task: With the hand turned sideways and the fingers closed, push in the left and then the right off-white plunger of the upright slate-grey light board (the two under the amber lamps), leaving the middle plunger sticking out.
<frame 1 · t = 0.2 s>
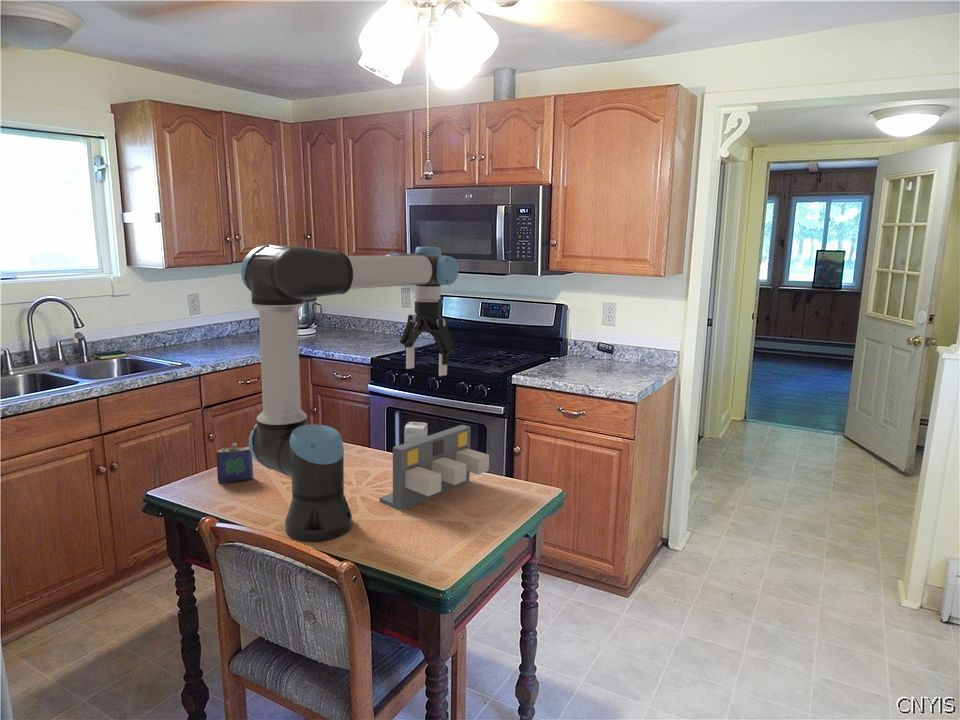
hand: (426, 371, 189), 28 cm above the table, tool pointing down, fingers open, 13 cm apart
button left: (419, 479, 158), point 8 cm above the table, slide at 0.0 cm
light board: (433, 493, 169), on the table
button mid: (445, 469, 165), point 8 cm above the table, slide at 0.0 cm
button right: (468, 460, 172), point 8 cm above the table, slide at 0.0 cm
flask: (235, 481, 175), on the table
syrup box: (415, 472, 184), on the table
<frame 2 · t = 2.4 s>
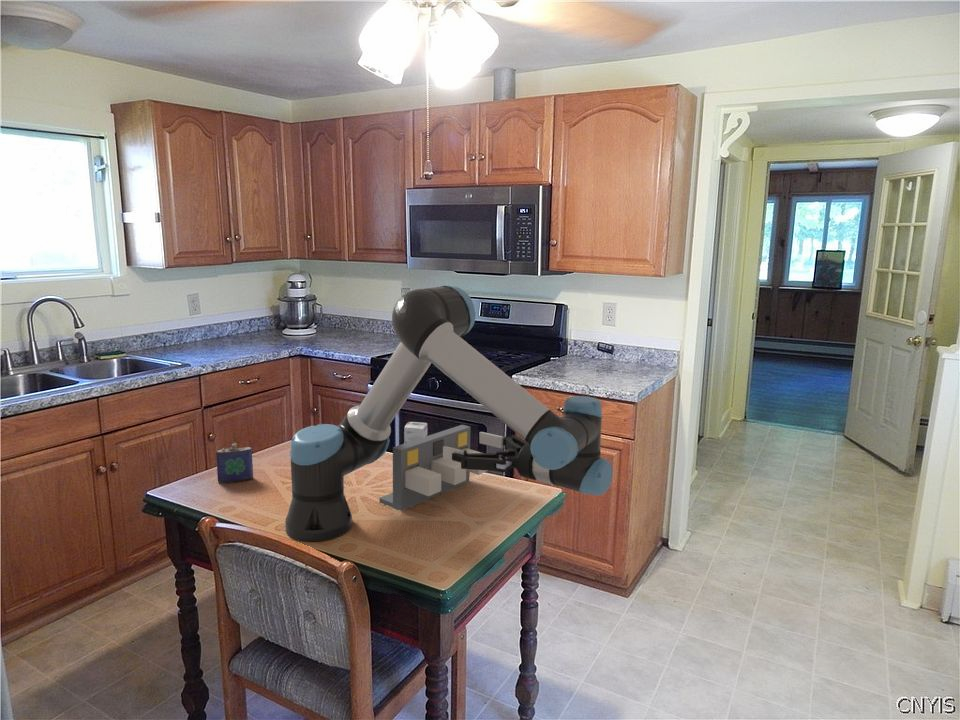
hand: (462, 444, 148), 20 cm above the table, tool horizontal, fingers open, 13 cm apart
nothing on the table moved.
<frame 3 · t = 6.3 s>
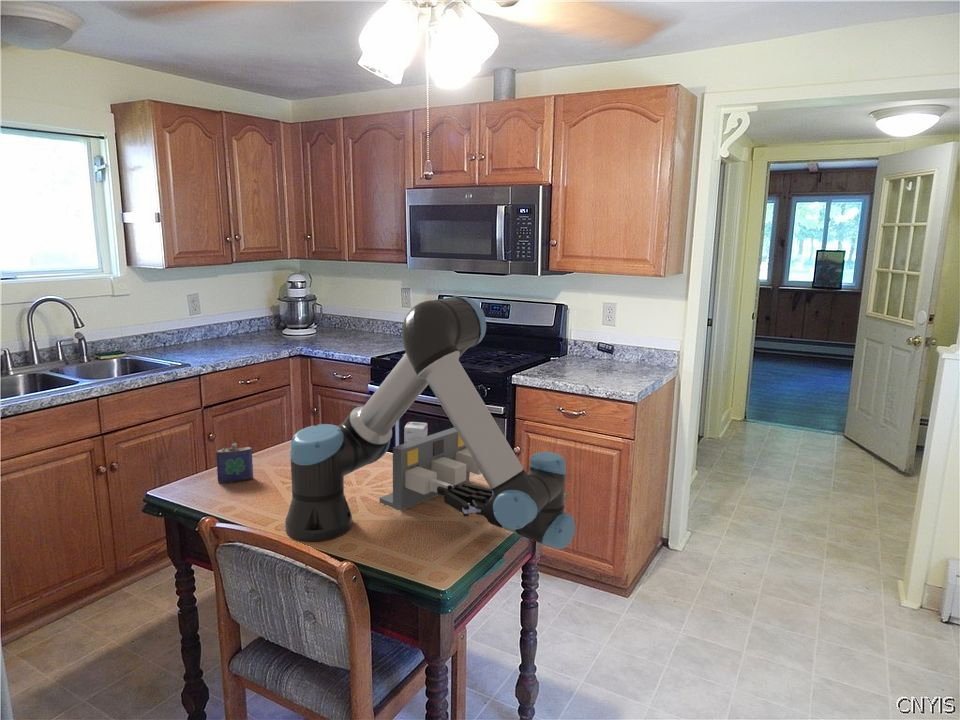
hand: (431, 484, 156), 8 cm above the table, tool horizontal, fingers closed
button left: (415, 478, 159), point 8 cm above the table, slide at 1.5 cm, touching gripper
everything else where it was.
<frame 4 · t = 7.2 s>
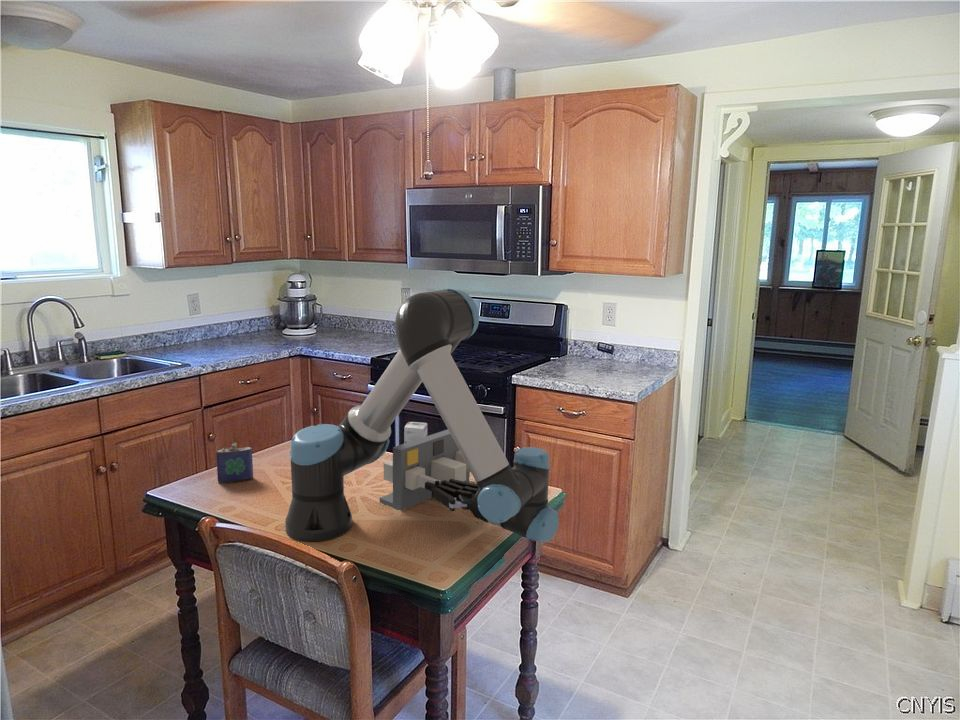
hand: (419, 479, 158), 8 cm above the table, tool horizontal, fingers closed
button left: (404, 474, 161), point 8 cm above the table, slide at 5.5 cm, touching gripper
everything else where it was.
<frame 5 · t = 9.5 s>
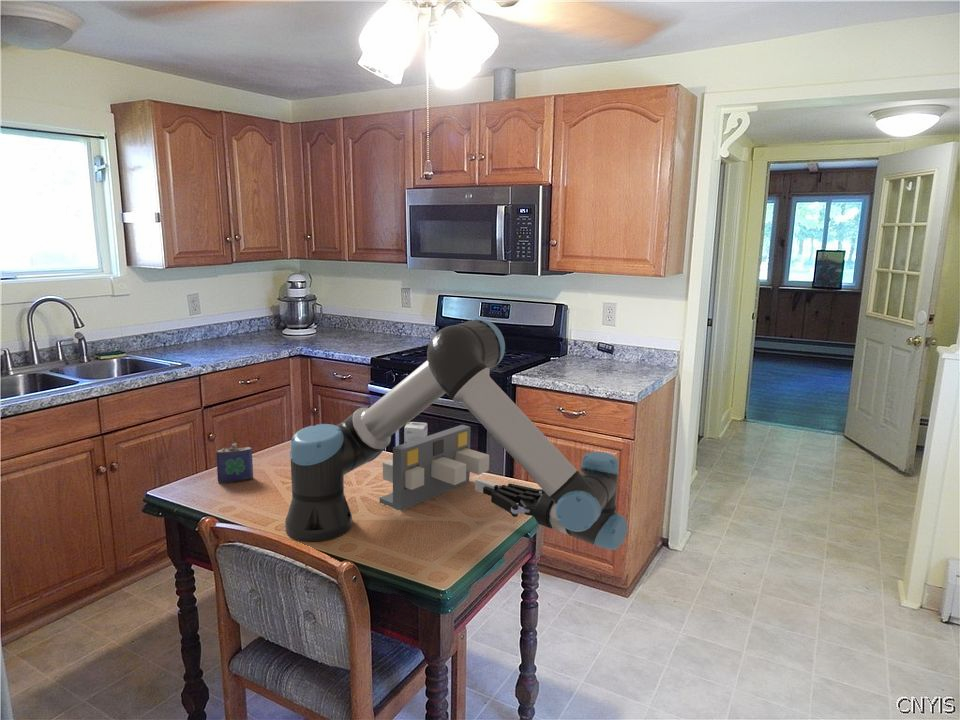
hand: (477, 484, 155), 8 cm above the table, tool horizontal, fingers closed
button left: (403, 473, 162), point 8 cm above the table, slide at 5.8 cm
everything else where it was.
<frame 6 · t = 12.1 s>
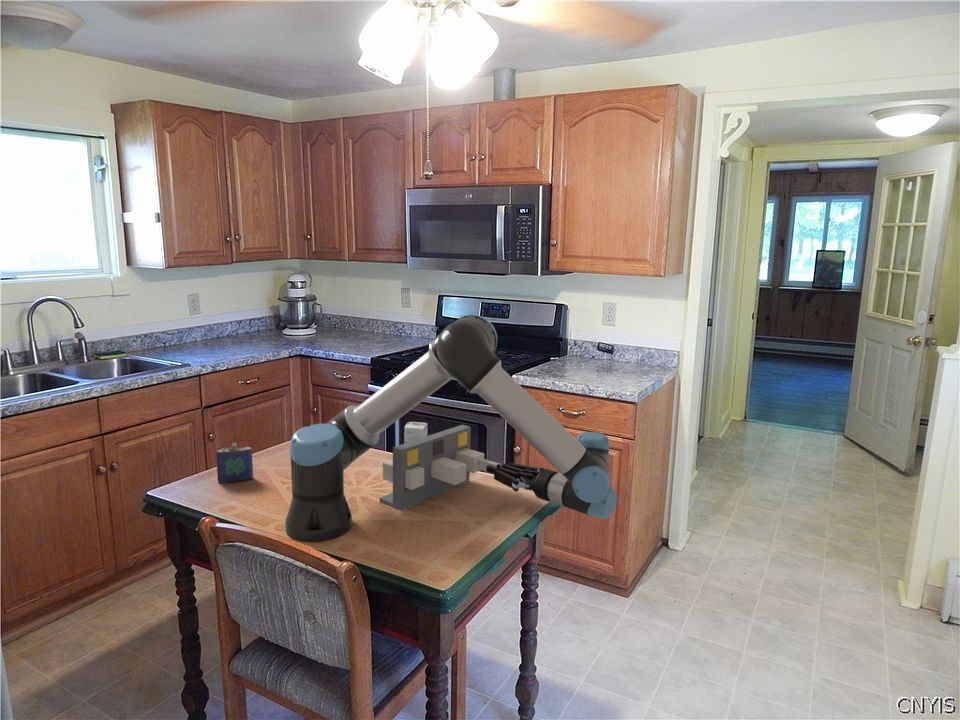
hand: (480, 463, 170), 8 cm above the table, tool horizontal, fingers closed
button right: (464, 458, 173), point 8 cm above the table, slide at 1.7 cm, touching gripper
everything else where it was.
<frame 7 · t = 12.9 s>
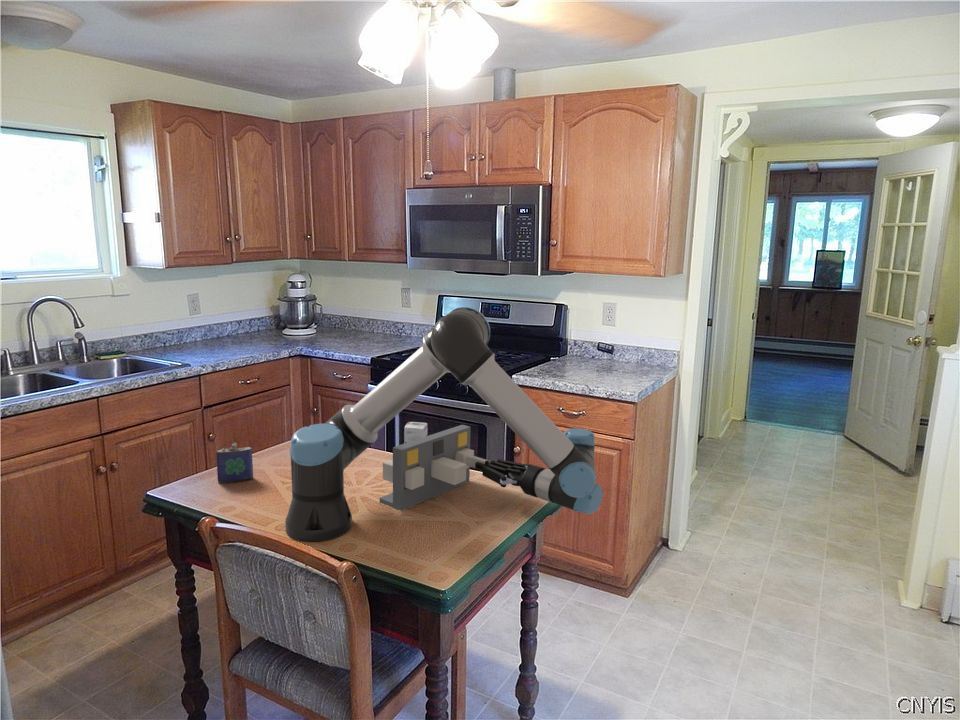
hand: (469, 460, 172), 8 cm above the table, tool horizontal, fingers closed
button right: (454, 455, 176), point 8 cm above the table, slide at 5.3 cm, touching gripper
everything else where it was.
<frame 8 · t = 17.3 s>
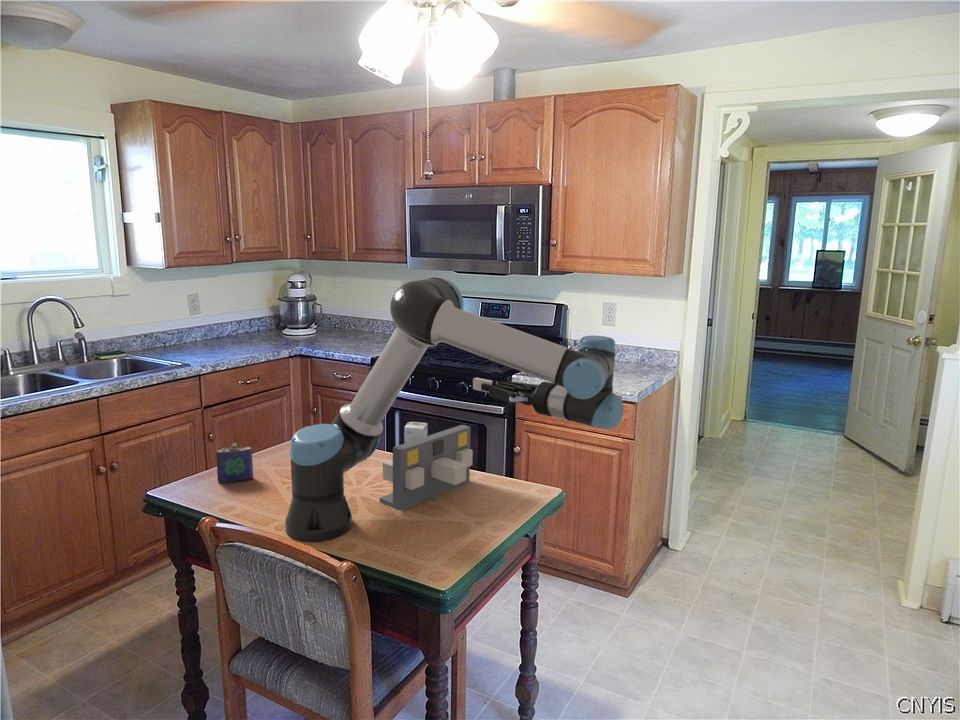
hand: (474, 383, 157), 32 cm above the table, tool horizontal, fingers closed
button right: (452, 455, 176), point 8 cm above the table, slide at 5.8 cm
everything else where it was.
at the end: button left slide at 5.8 cm; button right slide at 5.8 cm; button mid slide at 0.0 cm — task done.
